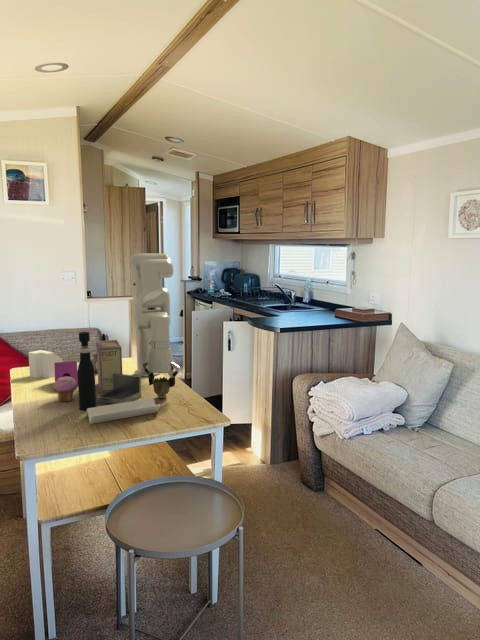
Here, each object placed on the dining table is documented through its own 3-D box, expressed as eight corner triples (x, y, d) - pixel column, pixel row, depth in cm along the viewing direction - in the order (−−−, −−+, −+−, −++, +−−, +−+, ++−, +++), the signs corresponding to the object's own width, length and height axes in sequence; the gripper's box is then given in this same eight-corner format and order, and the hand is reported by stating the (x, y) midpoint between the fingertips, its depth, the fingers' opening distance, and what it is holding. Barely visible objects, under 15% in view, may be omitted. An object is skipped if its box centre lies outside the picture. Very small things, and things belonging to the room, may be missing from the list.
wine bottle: (80, 412, 184) (76, 334, 179) (78, 407, 189) (73, 332, 185) (98, 409, 187) (94, 333, 182) (94, 404, 192) (91, 330, 188)
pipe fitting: (111, 371, 242) (108, 351, 241) (95, 374, 238) (92, 354, 237) (104, 368, 252) (101, 349, 251) (89, 372, 248) (86, 352, 247)
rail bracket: (115, 393, 206) (114, 373, 205) (141, 397, 202) (140, 376, 200) (95, 402, 194) (94, 381, 193) (122, 406, 190) (121, 384, 188)
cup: (174, 397, 201) (174, 379, 200) (160, 401, 196) (159, 382, 194) (163, 394, 206) (163, 375, 205) (149, 398, 201) (148, 379, 199)
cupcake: (52, 404, 193) (51, 380, 192) (57, 397, 202) (56, 374, 200) (75, 403, 194) (74, 379, 193) (79, 396, 203) (78, 373, 201)
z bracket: (88, 431, 176) (85, 416, 179) (154, 419, 188) (150, 405, 191) (92, 416, 167) (88, 400, 170) (160, 404, 179) (156, 390, 182)
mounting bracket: (79, 402, 215) (77, 375, 229) (78, 387, 210) (76, 360, 225) (56, 404, 212) (55, 377, 226) (55, 389, 207) (54, 362, 221)
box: (98, 384, 221) (96, 341, 218) (118, 382, 224) (116, 339, 221) (101, 394, 206) (99, 348, 203) (123, 392, 209) (121, 346, 206)
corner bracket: (30, 376, 235) (28, 352, 233) (50, 371, 244) (49, 348, 242) (43, 379, 229) (41, 355, 227) (63, 374, 238) (62, 350, 236)
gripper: (137, 345, 197) (139, 385, 199) (174, 347, 190) (175, 389, 193) (147, 342, 204) (148, 381, 206) (183, 344, 197) (184, 385, 200)
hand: (161, 385), depth 199 cm, fingers open, 9 cm apart
